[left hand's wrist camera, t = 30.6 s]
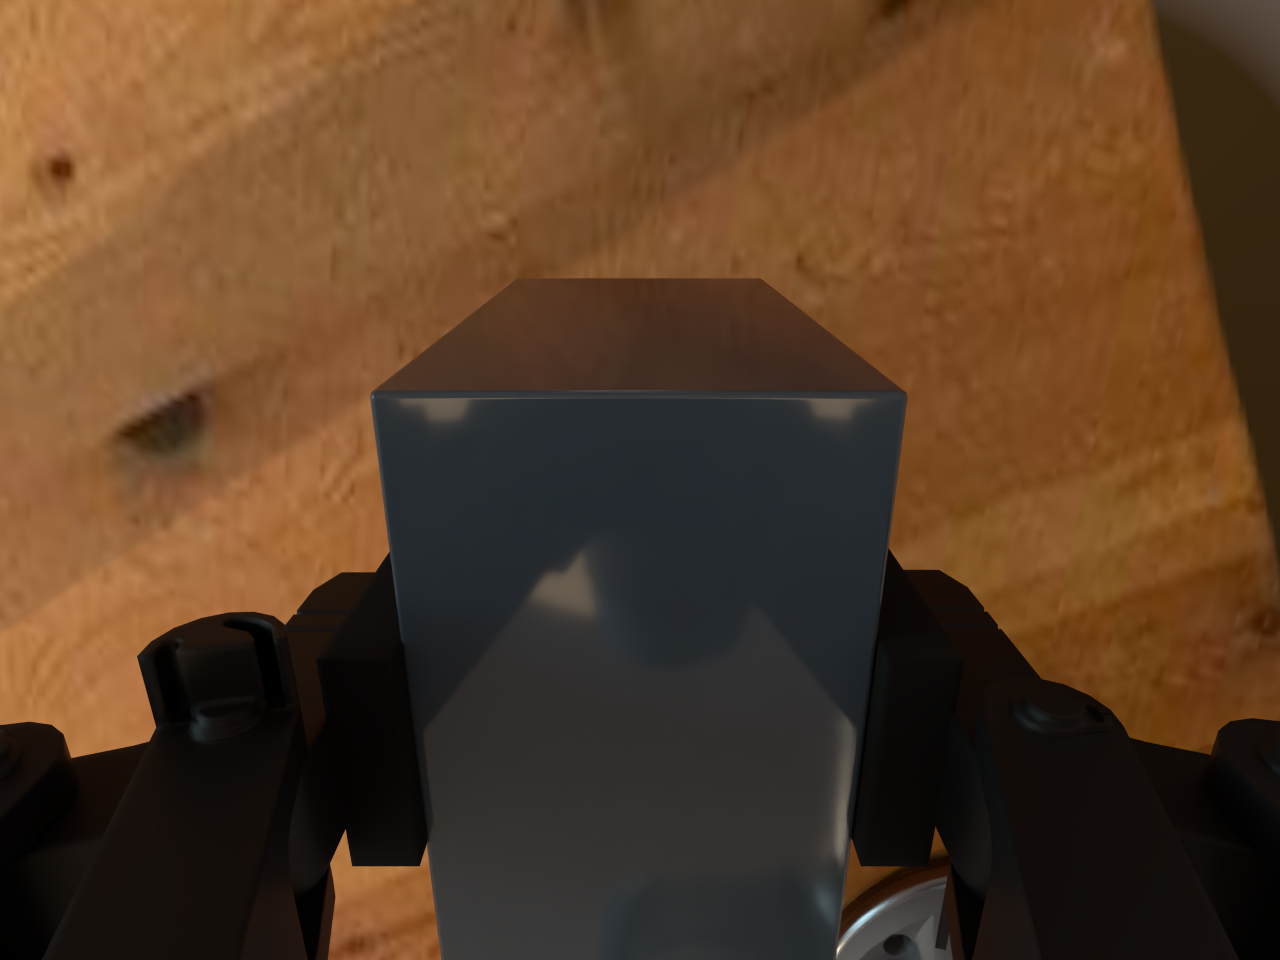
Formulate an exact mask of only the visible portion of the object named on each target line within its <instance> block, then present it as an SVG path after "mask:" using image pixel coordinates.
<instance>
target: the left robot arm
mask: <svg viewBox="0 0 1280 960" xmlns="http://www.w3.org/2000/svg"><path fill="white" fill-rule="evenodd" d="M137 658H138V661H139V665H140V669H141V672H142V676H143V680H144V684H145V687H146V691H147V695H148V698H149V702H150V706H151V709H152V713H153V717H154V720H155V724H156V729H155V731H154V733H153V735H152V737H151V739H150V741H149V742H146V743H142V744H138V745H135V746H130V747H125V748H120V749H115V750H110V751H105V752H100V753H95V754H90V755H85V756H80V757H75V758H71V756H70V753H69V750H68V747H67V744H66V741H65V738H64V735H63V734H62V733H61V732H60V731H59V730H57V729H56V728H55V727H54V726H52V725H49V724H42V723H35V722H23V723H15V724H6V725H0V960H328V952H329V944H330V936H331V928H332V920H333V912H334V904H335V890H334V883H333V877H332V871H331V866H330V862H331V860H332V858H333V855H334V853H335V851H336V849H337V847H338V844H339V842H340V840H341V838H342V836H343V833H344V831H345V829H346V833H347V839H348V845H349V850H350V856H351V862H352V866H420V863H421V860H422V857H423V854H424V851H425V848H426V845H427V836H426V828H425V821H424V813H423V805H422V797H421V789H420V781H419V773H418V765H417V758H416V750H415V742H414V734H413V726H412V718H411V710H410V702H409V695H408V687H407V679H406V671H405V663H404V655H403V647H402V641H401V636H400V628H399V621H398V613H397V605H396V597H395V589H394V581H393V573H392V565H391V557H390V552H389V553H388V555H387V556H386V558H385V559H384V561H383V562H382V564H381V565H380V567H379V568H378V569H377V571H376V572H342V573H340V574H338V575H337V576H335V577H334V578H332V579H330V580H329V581H327V582H325V583H324V584H322V585H321V586H319V587H317V588H316V589H314V590H313V591H312V592H311V594H310V595H309V596H308V597H307V599H306V600H305V601H304V602H303V604H302V605H301V606H300V607H299V609H298V610H297V615H293V616H292V617H291V619H290V620H289V621H288V622H287V624H286V625H285V624H283V623H282V622H281V621H279V620H278V619H277V618H275V617H274V616H271V615H266V614H262V613H257V612H231V613H224V614H219V615H214V616H209V617H204V618H200V619H197V620H195V621H192V622H189V623H186V624H184V625H181V626H178V627H176V628H173V629H172V630H170V631H168V632H167V633H165V634H163V635H161V636H160V637H158V638H156V639H155V640H153V641H151V642H150V643H149V644H148V645H147V647H146V648H145V649H144V650H143V651H142V652H141V653H140V654H139V655H138V656H137ZM935 826H936V828H937V830H938V833H939V835H940V837H941V839H942V841H943V844H944V846H945V848H946V850H947V852H948V855H949V857H948V858H943V859H938V860H934V861H930V862H929V859H930V853H931V848H932V842H933V836H934V831H935ZM852 840H853V843H854V846H855V849H856V852H857V856H858V859H859V862H860V865H861V866H914V867H911V868H908V869H906V870H903V871H901V872H899V873H896V874H894V875H892V876H890V877H888V878H886V879H884V880H882V881H881V882H879V883H877V884H876V885H874V886H873V887H871V888H869V889H868V890H867V891H865V892H864V893H863V894H861V895H860V896H858V897H857V898H856V899H855V900H854V901H853V902H852V903H850V904H849V905H848V906H847V907H846V908H845V909H844V910H843V911H842V916H841V924H840V932H839V940H838V947H837V955H836V960H1280V721H1272V720H1263V719H1255V718H1251V719H1243V720H1236V721H1230V722H1229V723H1228V724H1226V725H1225V726H1224V727H1222V728H1221V729H1220V730H1219V731H1218V734H1217V737H1216V740H1215V743H1214V746H1213V749H1212V752H1211V755H1208V754H1203V753H1198V752H1193V751H1188V750H1183V749H1178V748H1173V747H1168V746H1163V745H1158V744H1153V743H1148V742H1144V741H1140V740H1137V739H1133V738H1129V736H1128V734H1127V732H1126V730H1125V728H1124V726H1123V725H1122V724H1121V722H1120V721H1119V720H1118V719H1117V717H1116V716H1115V715H1114V714H1113V712H1112V711H1111V710H1110V709H1108V708H1107V707H1105V706H1104V705H1103V704H1101V703H1100V702H1098V701H1097V700H1095V699H1094V698H1092V697H1091V696H1090V695H1087V694H1085V693H1083V692H1080V691H1078V690H1076V689H1073V688H1071V687H1069V686H1066V685H1064V684H1060V683H1056V682H1052V681H1047V680H1043V679H1041V678H1040V677H1039V675H1038V674H1037V673H1036V672H1035V670H1034V669H1033V668H1032V667H1031V665H1030V664H1029V663H1028V662H1027V660H1026V659H1025V658H1024V657H1023V655H1022V654H1021V653H1020V652H1019V651H1018V649H1017V648H1016V647H1015V646H1014V644H1013V643H1012V642H1011V641H1010V639H1009V638H1008V637H1007V636H1006V634H1005V633H1004V632H1003V631H1002V629H998V625H997V623H996V622H995V621H994V620H993V618H992V617H991V616H990V615H989V613H988V612H984V607H983V606H982V605H981V603H980V602H979V601H978V600H977V598H976V597H975V596H974V595H973V594H972V592H971V591H970V590H969V589H968V587H966V586H964V585H963V584H961V583H960V582H958V581H956V580H955V579H953V578H951V577H950V576H948V575H947V574H945V573H943V572H942V571H940V570H903V569H902V567H901V566H900V564H899V563H898V561H897V560H896V558H895V557H894V555H893V554H892V553H891V551H890V550H889V548H888V555H887V562H886V570H885V578H884V586H883V594H882V602H881V610H880V617H879V625H878V633H877V641H876V649H875V657H874V665H873V672H872V680H871V688H870V696H869V704H868V712H867V720H866V727H865V735H864V743H863V751H862V759H861V767H860V775H859V782H858V790H857V798H856V806H855V814H854V822H853V830H852Z"/></svg>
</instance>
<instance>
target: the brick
mask: <svg viewBox="0 0 1280 960" xmlns="http://www.w3.org/2000/svg"><path fill="white" fill-rule="evenodd" d="M907 398H908V397H907V394H906V392H905V391H904V390H902V389H901V388H900V387H899V386H897V385H896V384H895V383H893V382H892V381H891V380H890V379H888V378H887V377H886V376H885V375H883V374H882V373H881V372H879V371H878V370H877V369H876V368H874V367H873V366H872V365H871V364H869V363H868V362H867V361H865V360H864V359H863V358H862V357H860V356H859V355H858V354H857V353H855V352H854V351H853V350H851V349H850V348H849V347H848V346H846V345H845V344H844V343H843V342H841V341H840V340H839V339H837V338H836V337H835V336H834V335H832V334H831V333H830V332H829V331H827V330H826V329H825V328H823V327H822V326H821V325H820V324H818V323H817V322H816V321H814V320H813V319H812V318H811V317H809V316H808V315H807V314H806V313H804V312H803V311H802V310H800V309H799V308H798V307H797V306H795V305H794V304H793V303H792V302H790V301H789V300H788V299H786V298H785V297H784V296H783V295H781V294H780V293H779V292H778V291H776V290H775V289H774V288H772V287H771V286H770V285H769V284H767V283H766V282H765V281H764V280H762V279H760V278H518V279H516V280H514V281H513V282H512V283H511V284H509V285H508V286H507V287H506V288H504V289H503V290H502V291H500V292H499V293H498V294H497V295H495V296H494V297H493V298H491V299H490V300H489V301H488V302H486V303H485V304H484V305H482V306H481V307H480V308H479V309H477V310H476V311H475V312H474V313H472V314H471V315H470V316H468V317H467V318H466V319H465V320H463V321H462V322H461V323H459V324H458V325H457V326H456V327H454V328H453V329H452V330H450V331H449V332H448V333H447V334H445V335H444V336H443V337H441V338H440V339H439V340H438V341H436V342H435V343H434V344H433V345H431V346H430V347H429V348H427V349H426V350H425V351H424V352H422V353H421V354H420V355H418V356H417V357H416V358H415V359H413V360H412V361H411V362H409V363H408V364H407V365H406V366H404V367H403V368H402V369H401V370H399V371H398V372H397V373H395V374H394V375H393V376H392V377H390V378H389V379H388V380H386V381H385V382H384V383H383V384H381V385H380V386H379V387H377V388H376V389H375V390H374V391H372V393H371V396H370V399H371V407H372V415H373V423H374V431H375V439H376V447H377V455H378V462H379V470H380V478H381V486H382V494H383V502H384V510H385V518H386V526H387V534H388V541H389V549H390V557H391V565H392V573H393V581H394V589H395V597H396V605H397V613H398V621H399V628H400V636H401V641H402V647H403V655H404V663H405V671H406V679H407V687H408V695H409V702H410V710H411V718H412V726H413V734H414V742H415V750H416V758H417V765H418V773H419V781H420V789H421V797H422V805H423V813H424V821H425V828H426V836H427V850H428V858H429V866H430V874H431V882H432V889H433V897H434V905H435V913H436V921H437V929H438V937H439V945H440V953H441V960H836V955H837V947H838V940H839V932H840V924H841V916H842V908H843V900H844V892H845V885H846V877H847V869H848V861H849V853H850V845H851V837H852V830H853V822H854V814H855V806H856V798H857V790H858V782H859V775H860V767H861V759H862V751H863V743H864V735H865V727H866V720H867V712H868V704H869V696H870V688H871V680H872V672H873V665H874V657H875V649H876V641H877V633H878V625H879V617H880V610H881V602H882V594H883V586H884V578H885V570H886V562H887V555H888V547H889V539H890V531H891V523H892V515H893V507H894V500H895V492H896V484H897V476H898V468H899V460H900V452H901V445H902V437H903V429H904V421H905V413H906V405H907Z"/></svg>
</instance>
